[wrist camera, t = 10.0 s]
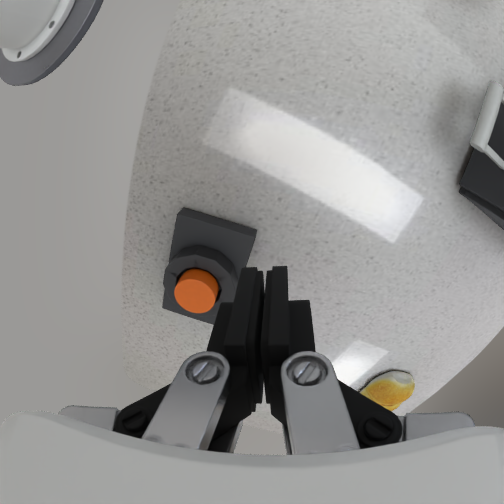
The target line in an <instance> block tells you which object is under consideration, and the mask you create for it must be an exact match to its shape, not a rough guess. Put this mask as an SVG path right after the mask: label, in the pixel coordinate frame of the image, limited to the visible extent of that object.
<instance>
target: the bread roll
mask: <svg viewBox="0 0 504 504" xmlns="http://www.w3.org/2000/svg"><path fill="white" fill-rule="evenodd" d="M414 387H415V384H414V379H413V378H412V376H411V375H410V374H408V373H404V372H400V371H391V372H387V373H385V374H383V375H380V376H378V377H376V378H375V379H374V380H372V381H371V382H370V383H369V384H368V385H367V386H366V388H364V389H362V390H361V391H360V392H359V393H361V394H362V395H364V396H366V397H367V398H369V399H371V400H372V401H374V402H376V403H377V404H379V405H381V406H383V407H384V408H386V409H388V410H390V411H393V410H394V409H396V408H397V407H398V406H399V405H400V404H401V403H402V402H403V401H405V400H406V399H408V398H409V397H410V396H411V395H412V393H413V390H414Z"/></svg>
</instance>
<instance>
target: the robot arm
mask: <svg viewBox="0 0 504 504" xmlns="http://www.w3.org/2000/svg"><path fill="white" fill-rule="evenodd" d="M74 2H75V0H0V48H2V51H3V54H4V56H5V58H6V59H8V60H9V61H13V62H22V61H25V60H28V59H30V58H32V57H33V56H35V55H36V54H37V53H39V52H40V51H41V50H42V49H43V48H44V47H45V46H46V45H47V44H48V43H49V42H50V41H51V40H52V38H53V37H54V36H55V35H56V33H57V32H58V31H59V29H60V28H61V26H62V25H63V23H64V22H65V20H66V18H67V17H68V15H69V13H70V11H71V9H72V7H73V5H74ZM263 384H264V386H265V395H266V403H267V404H270V406H271V415H273V416H274V417H275V418H276V419H277V420H279V421H280V422H281V423H282V429H283V435H284V441H285V449H286V455H251V454H234V449H235V447H236V444H237V441H238V438H239V435H240V432H241V429H242V425H243V419H245V418H246V417H248V416H249V415H251V413H252V412H255V410H256V403H260V404H261V403H262V396H263ZM0 504H504V429H503V428H498V427H488V426H479V427H475V424H474V421H473V419H472V418H471V417H470V415H468V414H466V413H464V412H444V413H406V415H405V416H397V415H395V414H394V413H393V412H391V411H390V410H388V409H386V408H384V407H383V406H381V405H379V404H377V403H376V402H374V401H372V400H371V399H369V398H367V397H366V396H364V395H362V394H361V393H359V392H357V391H356V390H354V389H352V388H351V387H349V386H347V385H346V384H344V383H343V382H341V381H339V380H338V379H337V377H336V374H335V371H334V368H333V365H332V364H331V362H330V360H329V359H328V358H326V357H325V356H324V355H322V354H320V353H317V352H316V351H315V342H314V333H313V324H312V316H311V308H310V301H309V300H294V301H288V273H287V266H273V268H272V270H269V271H267V276H266V287H265V291H264V279H263V271H257V267H245V268H242V269H241V273H240V277H239V281H238V285H237V290H236V294H235V298H234V302H221V304H220V306H219V310H218V313H217V316H216V320H215V323H214V326H213V330H212V333H211V337H210V340H209V344H208V347H207V351H205V352H199V353H196V354H194V355H192V356H190V357H189V358H187V359H186V360H185V361H184V363H183V364H182V365H181V367H180V369H179V371H178V373H177V375H176V376H175V378H174V380H173V382H172V383H171V384H169V385H167V386H165V387H163V388H162V389H160V390H158V391H156V392H154V393H152V394H150V395H148V396H146V397H144V398H143V399H141V400H139V401H137V402H135V403H133V404H131V405H129V406H127V407H125V408H124V409H122V410H121V411H120V410H118V409H117V408H111V407H88V406H74V405H73V406H67V407H65V408H63V409H62V410H61V411H60V412H59V413H58V414H55V413H51V412H45V411H22V412H17V413H13V414H11V415H10V416H8V417H7V418H6V419H5V420H4V421H3V423H2V424H1V425H0Z"/></svg>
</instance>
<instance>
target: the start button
mask: <svg viewBox="0 0 504 504" xmlns="http://www.w3.org/2000/svg"><path fill="white" fill-rule="evenodd" d="M218 290H219V287H218V283H217V281H216V279H215V278H214V276H213V275H211V274H210V273H209V272H207V271H205V270H202V269H190V270H188V271H186V272H184V273H183V274H182V276H181V278H180V280H179V281H178V283H177V285H176V287H175V290H174V295H175V298H176V300H177V302H178V304H179V305H180V306H181V307H183V308H184V309H185V310H187V311H190V312H193V313H204V312H207V311H209V310H210V309H211V308H212V307H213V306H214V303H215V300H216V297H217V294H218Z"/></svg>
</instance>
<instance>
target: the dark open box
mask: <svg viewBox="0 0 504 504" xmlns="http://www.w3.org/2000/svg"><path fill="white" fill-rule="evenodd" d="M459 193H460V194H462V195H463V196H464V197H466V198H467V199H468V200H469V201H471V202H472V203H473V204H474V205H476V206H477V207H478V208H479V209H480V210H482V211H483V212H484V213H485V214H486V215H487V216H489V217H490V218H491V219H492V220H493V221H494V222H495V223H497V224H498V225H499V226H500V227H501V228H502V229H503V230H504V212H503V211H502V210H500V209H498V208H497V207H495V206H493V205H492V204H490V203H489V202H487V201H485V200H483V199H482V198H480V197H478V196H477V195H475V194H473V193H471V192H469V191H468V190H466V189H465V188H463V187H461V189H460V191H459Z"/></svg>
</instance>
